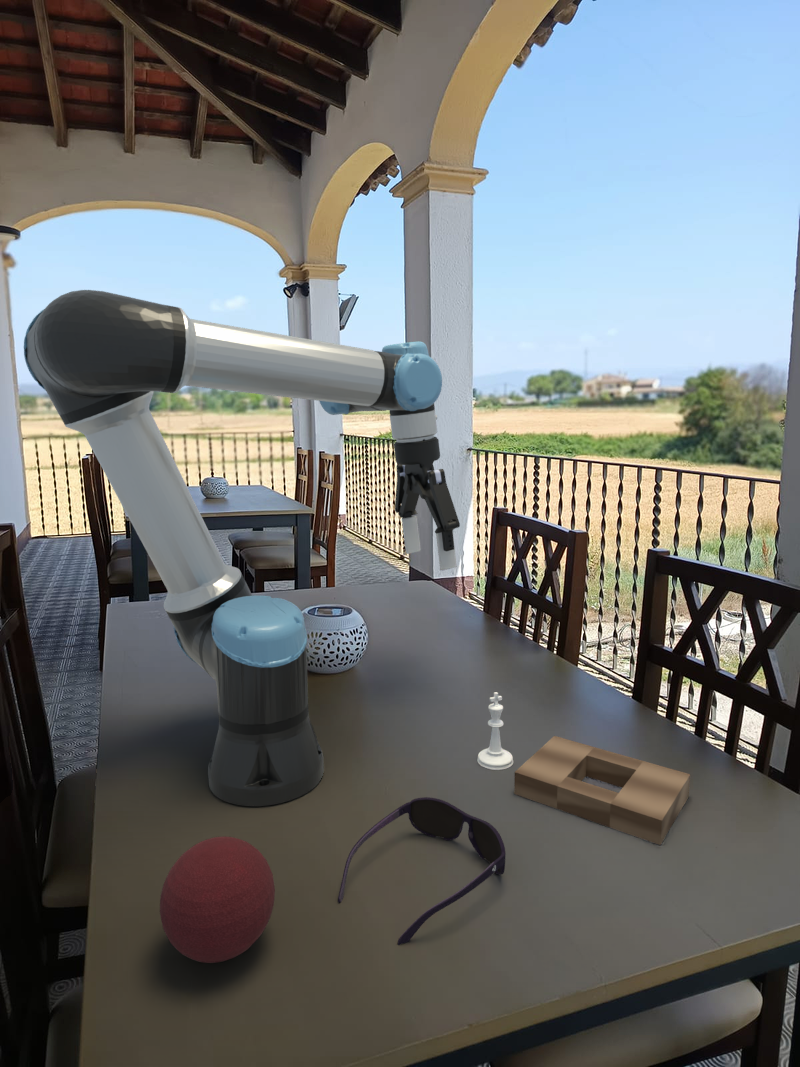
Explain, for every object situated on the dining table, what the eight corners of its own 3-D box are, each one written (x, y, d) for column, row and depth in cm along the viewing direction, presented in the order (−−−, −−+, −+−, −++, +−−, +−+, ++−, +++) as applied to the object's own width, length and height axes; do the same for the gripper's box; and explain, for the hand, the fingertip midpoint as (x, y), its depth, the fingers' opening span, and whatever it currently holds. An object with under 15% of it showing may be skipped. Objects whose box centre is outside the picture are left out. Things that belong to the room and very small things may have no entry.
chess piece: (471, 756, 96) (471, 689, 94) (502, 749, 98) (503, 683, 96) (487, 773, 92) (488, 702, 90) (519, 766, 93) (521, 696, 91)
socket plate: (660, 845, 76) (661, 820, 75) (514, 793, 86) (514, 772, 86) (688, 796, 85) (690, 774, 85) (553, 755, 96) (554, 735, 95)
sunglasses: (520, 875, 72) (521, 832, 71) (424, 966, 60) (423, 915, 59) (421, 825, 81) (420, 786, 80) (320, 895, 69) (319, 851, 68)
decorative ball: (152, 933, 64) (144, 836, 62) (255, 893, 69) (250, 802, 67) (180, 1011, 55) (171, 901, 54) (294, 959, 61) (289, 857, 59)
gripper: (472, 438, 104) (485, 570, 109) (405, 431, 126) (418, 541, 131) (428, 446, 101) (444, 581, 106) (367, 438, 124) (382, 550, 129)
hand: (430, 560), depth 119 cm, fingers open, 13 cm apart
